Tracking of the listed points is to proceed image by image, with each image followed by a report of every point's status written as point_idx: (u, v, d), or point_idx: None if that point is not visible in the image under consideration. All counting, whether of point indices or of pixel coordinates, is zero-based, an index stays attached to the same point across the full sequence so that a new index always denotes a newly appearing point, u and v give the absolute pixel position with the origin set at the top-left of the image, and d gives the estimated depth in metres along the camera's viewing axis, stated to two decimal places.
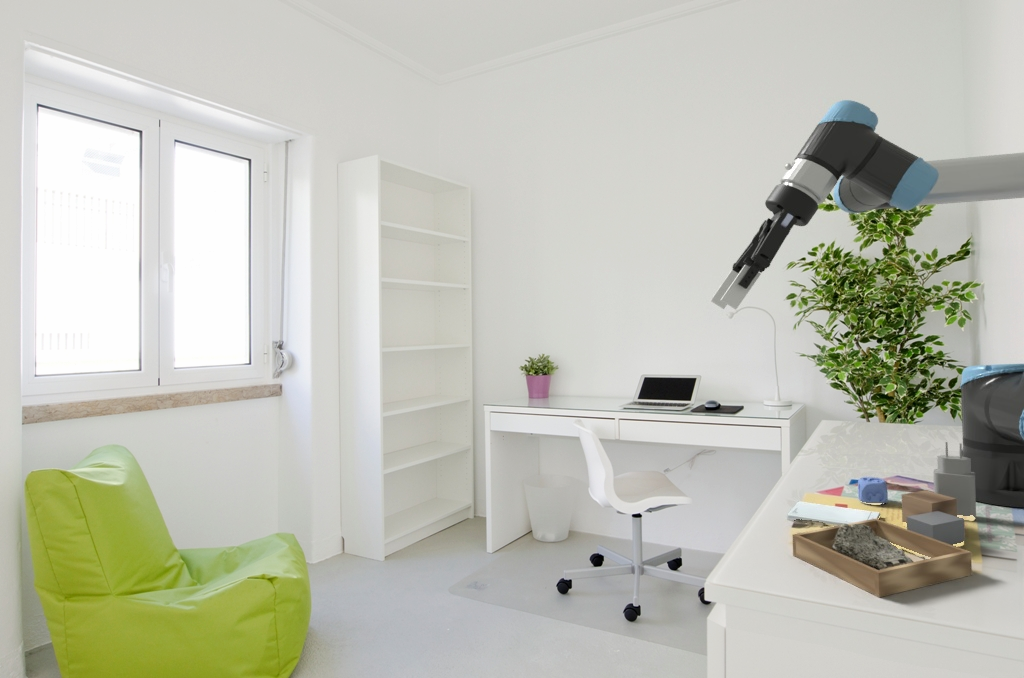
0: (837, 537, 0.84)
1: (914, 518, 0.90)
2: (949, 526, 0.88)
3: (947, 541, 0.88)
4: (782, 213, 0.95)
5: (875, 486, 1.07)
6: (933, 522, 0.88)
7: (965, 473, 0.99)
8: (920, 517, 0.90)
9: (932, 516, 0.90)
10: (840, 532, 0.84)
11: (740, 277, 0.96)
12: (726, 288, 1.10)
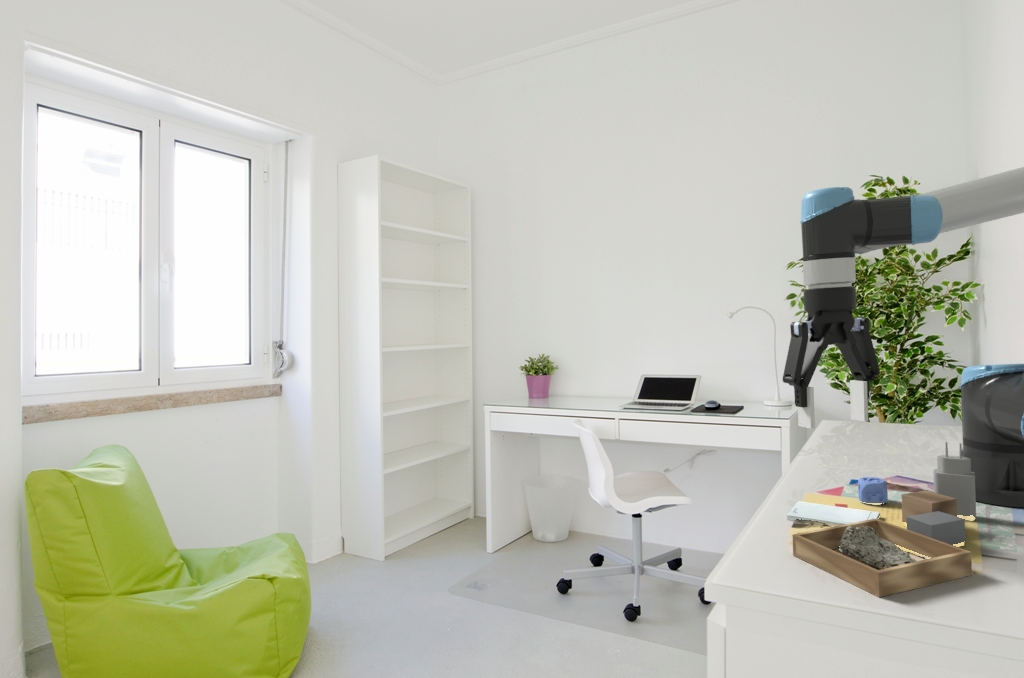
0: (843, 540, 0.83)
1: (914, 518, 0.90)
2: (949, 526, 0.88)
3: (947, 541, 0.88)
4: (791, 326, 1.00)
5: (875, 486, 1.07)
6: (933, 522, 0.88)
7: (965, 473, 0.99)
8: (920, 517, 0.90)
9: (932, 516, 0.90)
10: (846, 535, 0.83)
11: None
12: (855, 400, 1.03)
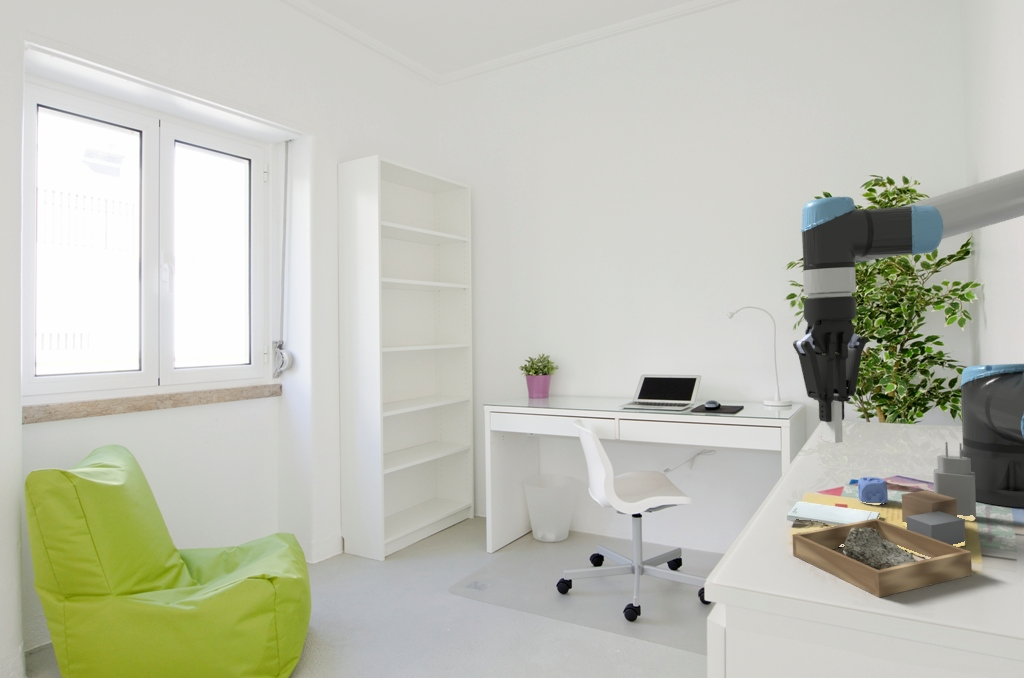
0: (847, 542, 0.82)
1: (914, 518, 0.90)
2: (949, 526, 0.88)
3: (946, 541, 0.88)
4: (794, 346, 1.00)
5: (875, 486, 1.07)
6: (933, 522, 0.88)
7: (965, 473, 0.99)
8: (920, 517, 0.90)
9: (932, 516, 0.90)
10: (850, 537, 0.82)
11: None
12: None
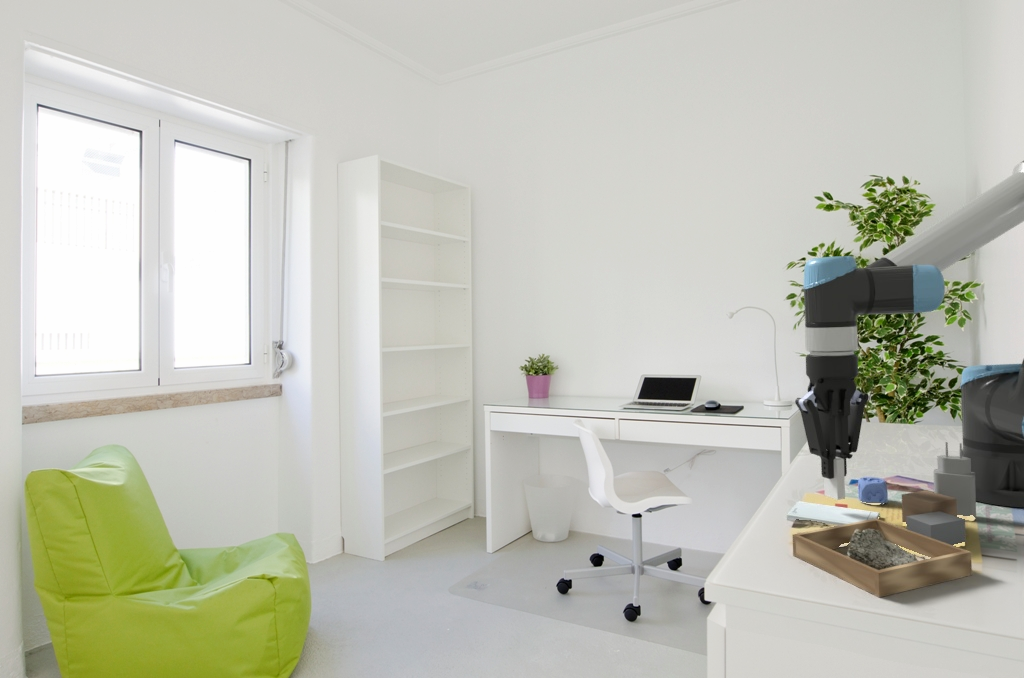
0: (851, 543, 0.81)
1: (914, 517, 0.90)
2: (948, 526, 0.88)
3: (946, 541, 0.88)
4: (796, 403, 1.00)
5: (875, 486, 1.07)
6: (932, 522, 0.88)
7: (965, 473, 0.99)
8: (920, 517, 0.90)
9: (932, 516, 0.90)
10: (854, 538, 0.81)
11: None
12: None
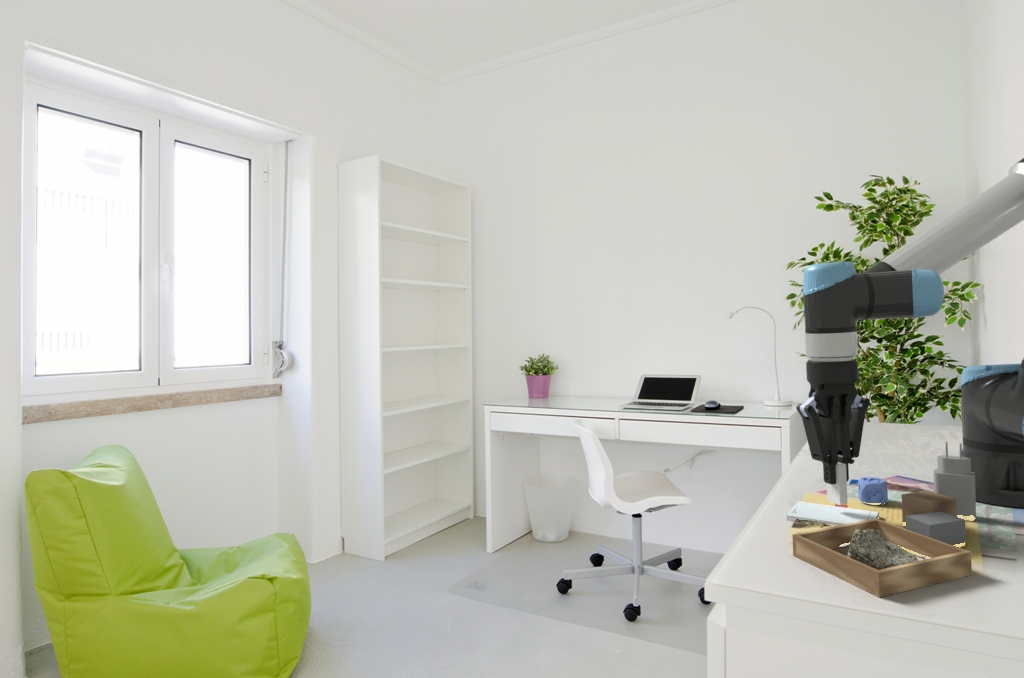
0: (852, 543, 0.81)
1: (913, 517, 0.90)
2: (948, 526, 0.88)
3: (946, 541, 0.88)
4: (797, 409, 1.01)
5: (875, 486, 1.07)
6: (932, 521, 0.88)
7: (965, 473, 0.99)
8: (920, 516, 0.91)
9: (932, 516, 0.90)
10: (854, 538, 0.81)
11: None
12: None
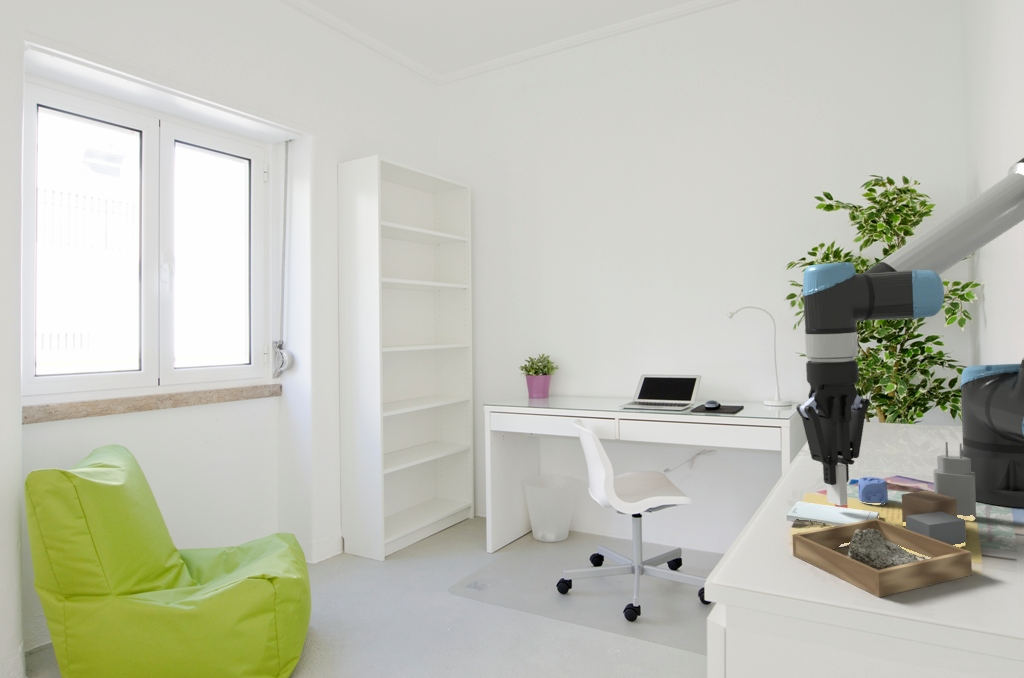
0: (852, 543, 0.81)
1: (913, 517, 0.90)
2: (948, 527, 0.88)
3: (945, 541, 0.88)
4: (797, 410, 1.01)
5: (875, 486, 1.07)
6: (931, 521, 0.88)
7: (965, 473, 0.99)
8: (920, 516, 0.91)
9: (932, 516, 0.90)
10: (854, 539, 0.81)
11: None
12: None
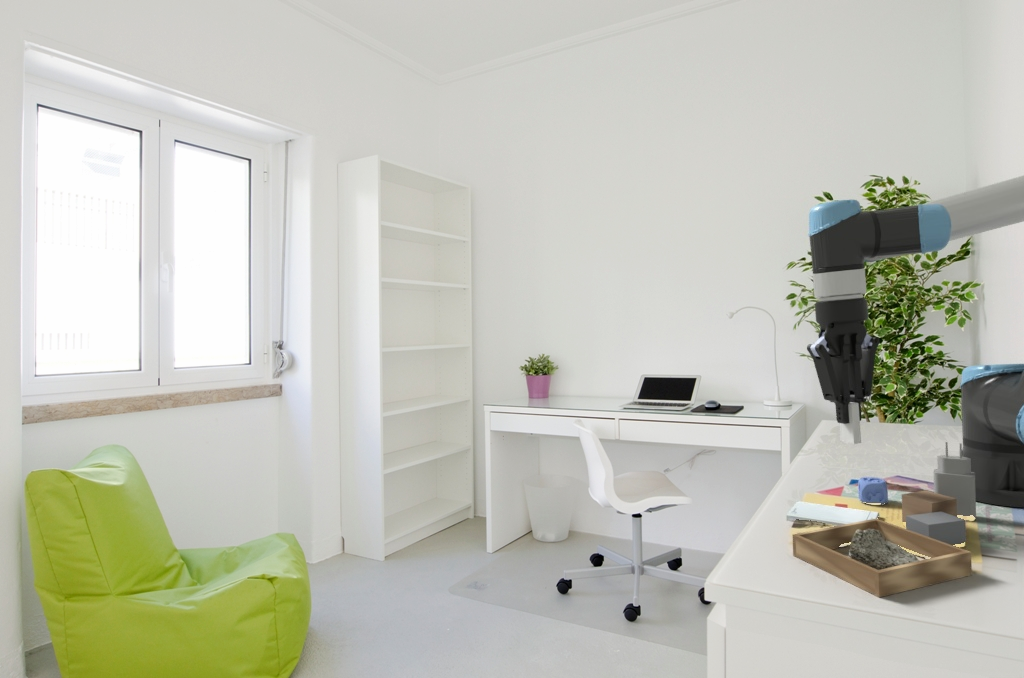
0: (852, 544, 0.81)
1: (913, 517, 0.90)
2: (948, 527, 0.88)
3: (945, 541, 0.88)
4: (808, 349, 1.01)
5: (875, 486, 1.07)
6: (931, 521, 0.88)
7: (965, 473, 0.99)
8: (920, 516, 0.91)
9: (932, 516, 0.90)
10: (855, 539, 0.81)
11: None
12: None
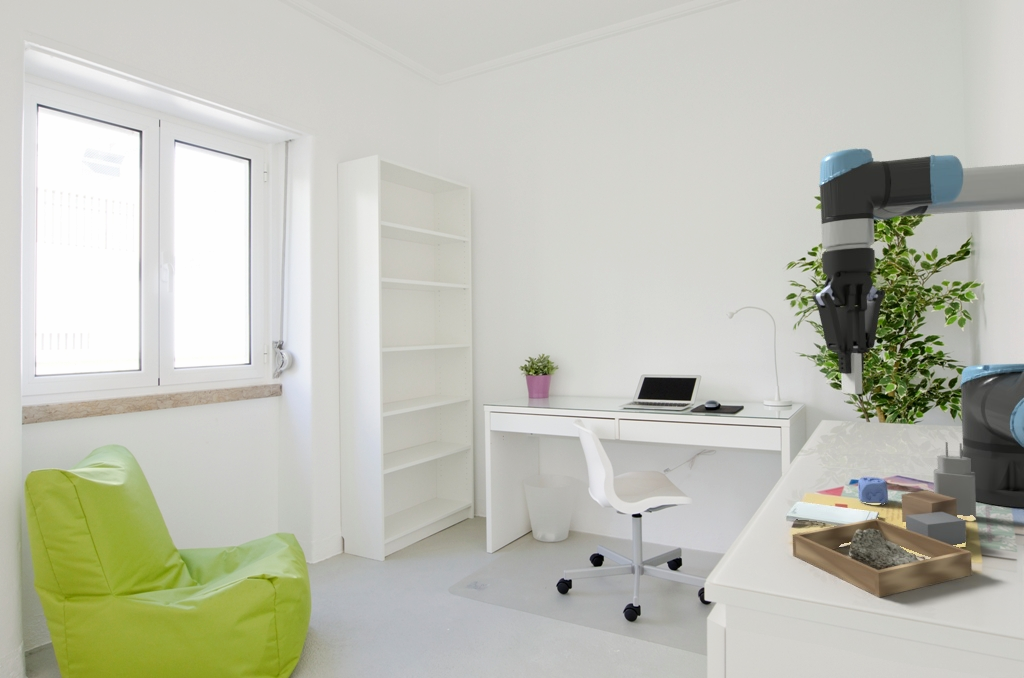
0: (853, 543, 0.81)
1: (913, 517, 0.91)
2: (947, 527, 0.88)
3: (945, 541, 0.88)
4: (813, 298, 1.01)
5: (875, 486, 1.07)
6: (931, 521, 0.88)
7: (965, 473, 0.99)
8: (920, 516, 0.91)
9: (932, 516, 0.90)
10: (855, 538, 0.81)
11: None
12: None
